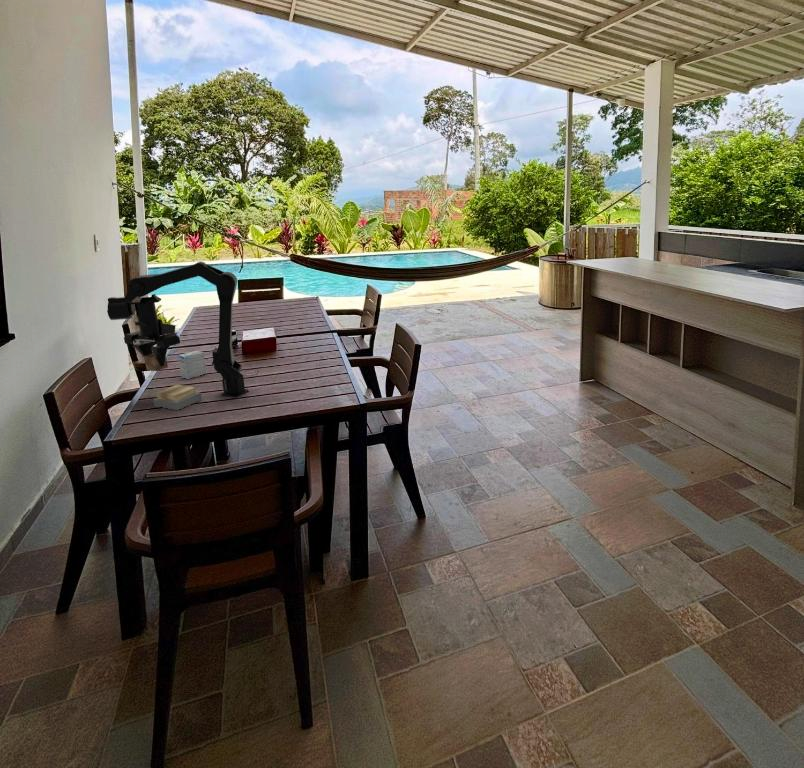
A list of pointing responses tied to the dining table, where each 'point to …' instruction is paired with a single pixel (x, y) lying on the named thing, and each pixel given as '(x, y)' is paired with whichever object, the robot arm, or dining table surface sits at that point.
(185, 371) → the medicine box
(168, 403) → the slate slab
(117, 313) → the robot arm
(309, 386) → the dining table surface
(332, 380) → the dining table surface
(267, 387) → the dining table surface
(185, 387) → the oak block
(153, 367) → the walnut cube
